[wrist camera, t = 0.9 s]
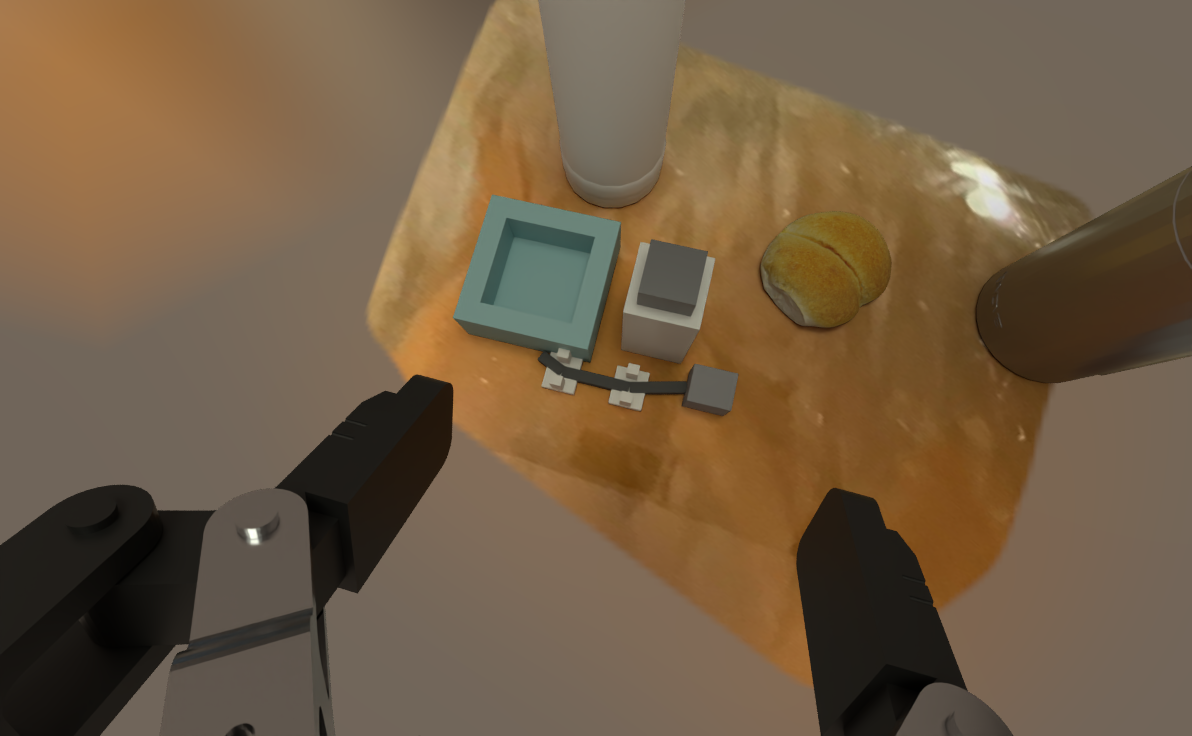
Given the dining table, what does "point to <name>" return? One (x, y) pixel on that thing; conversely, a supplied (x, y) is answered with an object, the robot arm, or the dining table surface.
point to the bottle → (612, 91)
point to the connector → (666, 300)
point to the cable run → (642, 383)
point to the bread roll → (826, 268)
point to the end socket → (539, 277)
